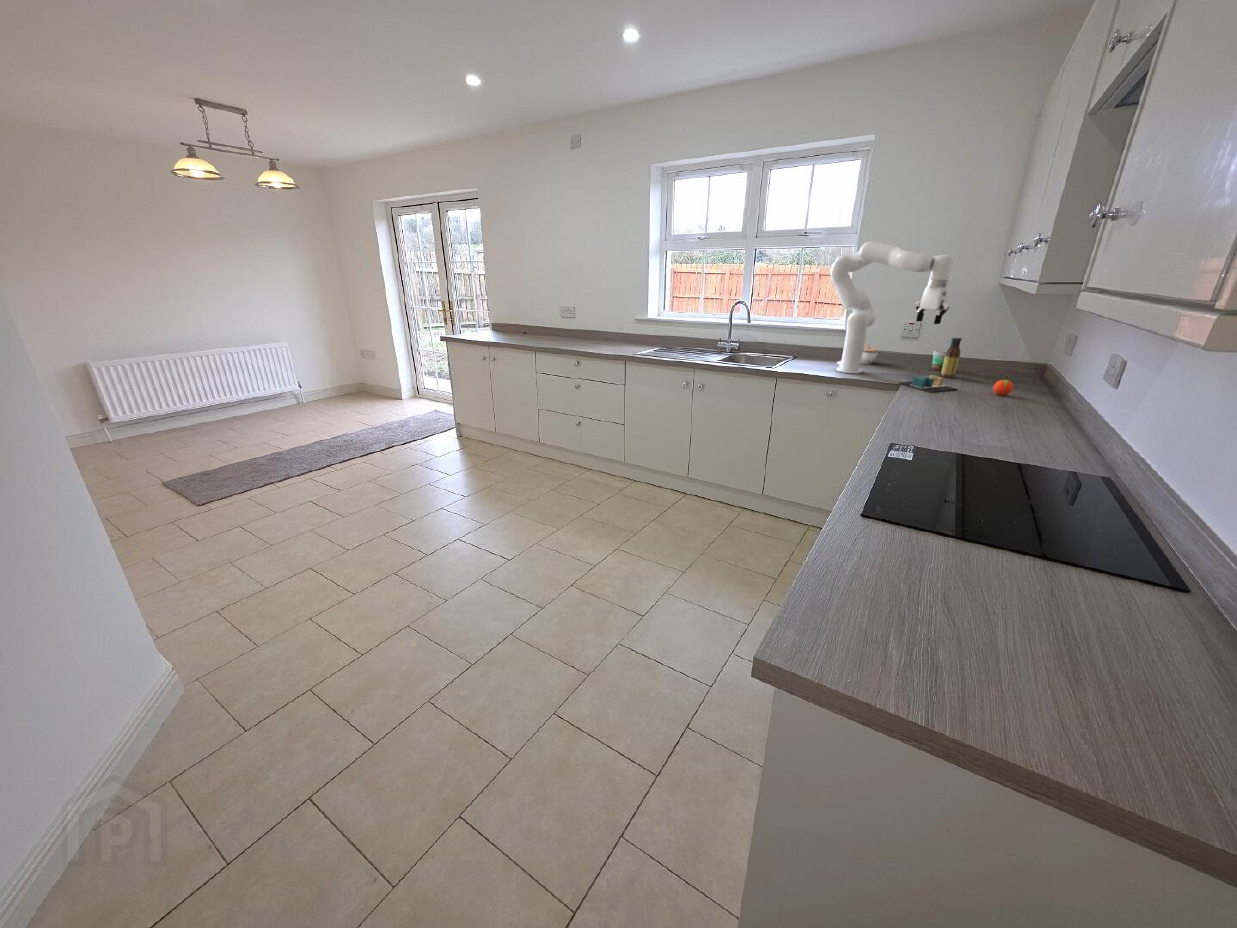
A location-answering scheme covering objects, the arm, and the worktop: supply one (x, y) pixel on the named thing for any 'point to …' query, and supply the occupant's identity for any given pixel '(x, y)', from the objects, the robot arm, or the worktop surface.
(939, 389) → the word mat
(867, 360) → the trinket box
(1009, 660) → the worktop surface
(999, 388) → the tomato
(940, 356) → the food container
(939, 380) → the letter I
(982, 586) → the worktop surface
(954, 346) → the sauce bottle
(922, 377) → the letter H
